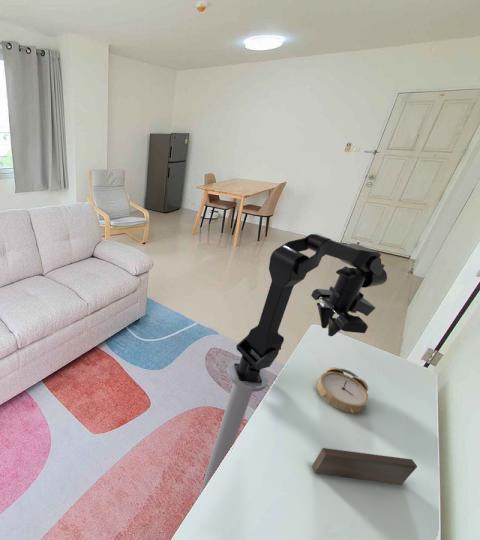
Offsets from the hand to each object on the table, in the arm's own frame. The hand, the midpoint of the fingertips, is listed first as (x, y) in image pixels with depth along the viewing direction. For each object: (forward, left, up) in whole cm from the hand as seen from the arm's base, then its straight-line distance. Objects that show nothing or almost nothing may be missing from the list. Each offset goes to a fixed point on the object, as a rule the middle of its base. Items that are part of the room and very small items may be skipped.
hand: (326, 331), depth 91 cm
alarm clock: (+12, +2, -12) cm, 17 cm away
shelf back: (+36, -8, -12) cm, 39 cm away
